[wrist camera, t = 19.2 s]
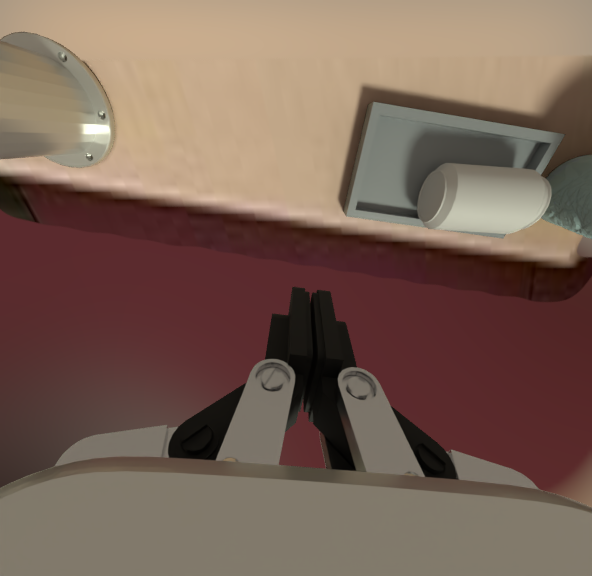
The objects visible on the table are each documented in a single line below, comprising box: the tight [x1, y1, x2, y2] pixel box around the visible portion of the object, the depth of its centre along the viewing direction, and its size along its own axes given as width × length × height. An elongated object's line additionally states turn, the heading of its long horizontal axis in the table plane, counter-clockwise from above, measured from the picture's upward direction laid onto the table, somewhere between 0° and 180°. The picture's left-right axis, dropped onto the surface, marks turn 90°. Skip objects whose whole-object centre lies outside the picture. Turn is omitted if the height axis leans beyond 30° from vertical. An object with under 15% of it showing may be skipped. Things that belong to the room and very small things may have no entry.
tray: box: [343, 102, 565, 238], centre depth 32 cm, size 22×12×2 cm, turn 82°
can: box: [417, 163, 551, 234], centre depth 30 cm, size 8×8×12 cm
